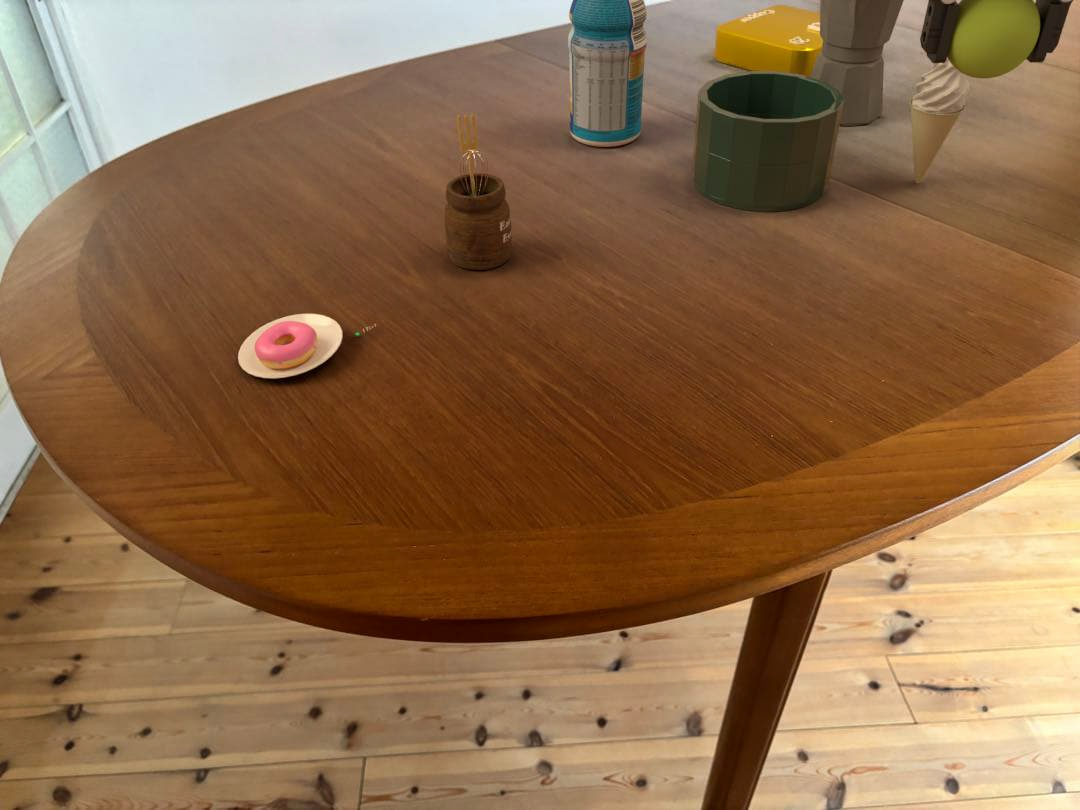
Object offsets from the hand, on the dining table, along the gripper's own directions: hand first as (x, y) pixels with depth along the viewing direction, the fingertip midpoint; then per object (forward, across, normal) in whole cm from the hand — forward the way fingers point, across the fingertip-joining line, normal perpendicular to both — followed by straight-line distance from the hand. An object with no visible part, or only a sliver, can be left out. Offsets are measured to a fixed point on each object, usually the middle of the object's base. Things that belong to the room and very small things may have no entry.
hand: (984, 58), depth 60 cm
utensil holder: (+21, -36, +11) cm, 43 cm away
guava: (+1, 0, 0) cm, 1 cm away
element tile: (+21, 0, +64) cm, 68 cm away
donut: (+21, -48, -4) cm, 53 cm away
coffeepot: (+21, +3, +46) cm, 51 cm away
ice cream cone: (+21, +7, +26) cm, 35 cm away
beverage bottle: (+21, -25, +39) cm, 51 cm away
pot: (+21, -9, +27) cm, 35 cm away
